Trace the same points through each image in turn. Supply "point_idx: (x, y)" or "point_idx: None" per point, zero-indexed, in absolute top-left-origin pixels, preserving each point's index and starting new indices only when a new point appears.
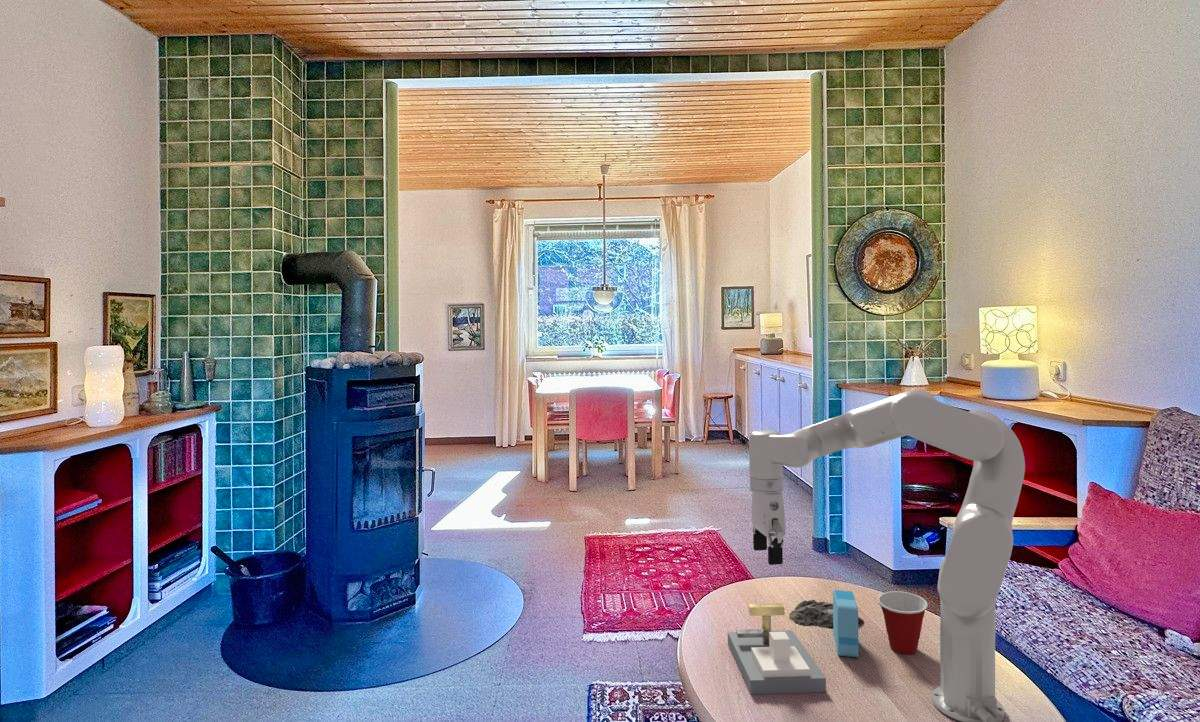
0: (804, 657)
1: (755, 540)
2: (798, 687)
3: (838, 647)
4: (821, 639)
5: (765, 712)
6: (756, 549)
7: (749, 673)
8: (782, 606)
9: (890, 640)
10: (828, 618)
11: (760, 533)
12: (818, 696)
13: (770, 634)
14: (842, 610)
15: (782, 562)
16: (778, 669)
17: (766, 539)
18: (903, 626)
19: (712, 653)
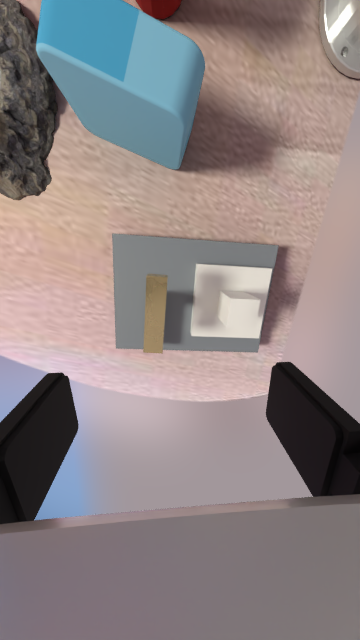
0: (213, 253)
1: (51, 477)
2: None
3: (179, 165)
4: (108, 171)
5: (287, 338)
6: (75, 424)
7: (241, 349)
8: (165, 281)
9: (158, 1)
10: (31, 109)
11: (2, 502)
12: None
13: (235, 327)
14: (188, 107)
15: (290, 363)
16: (261, 316)
17: (33, 418)
18: None
19: (146, 365)
